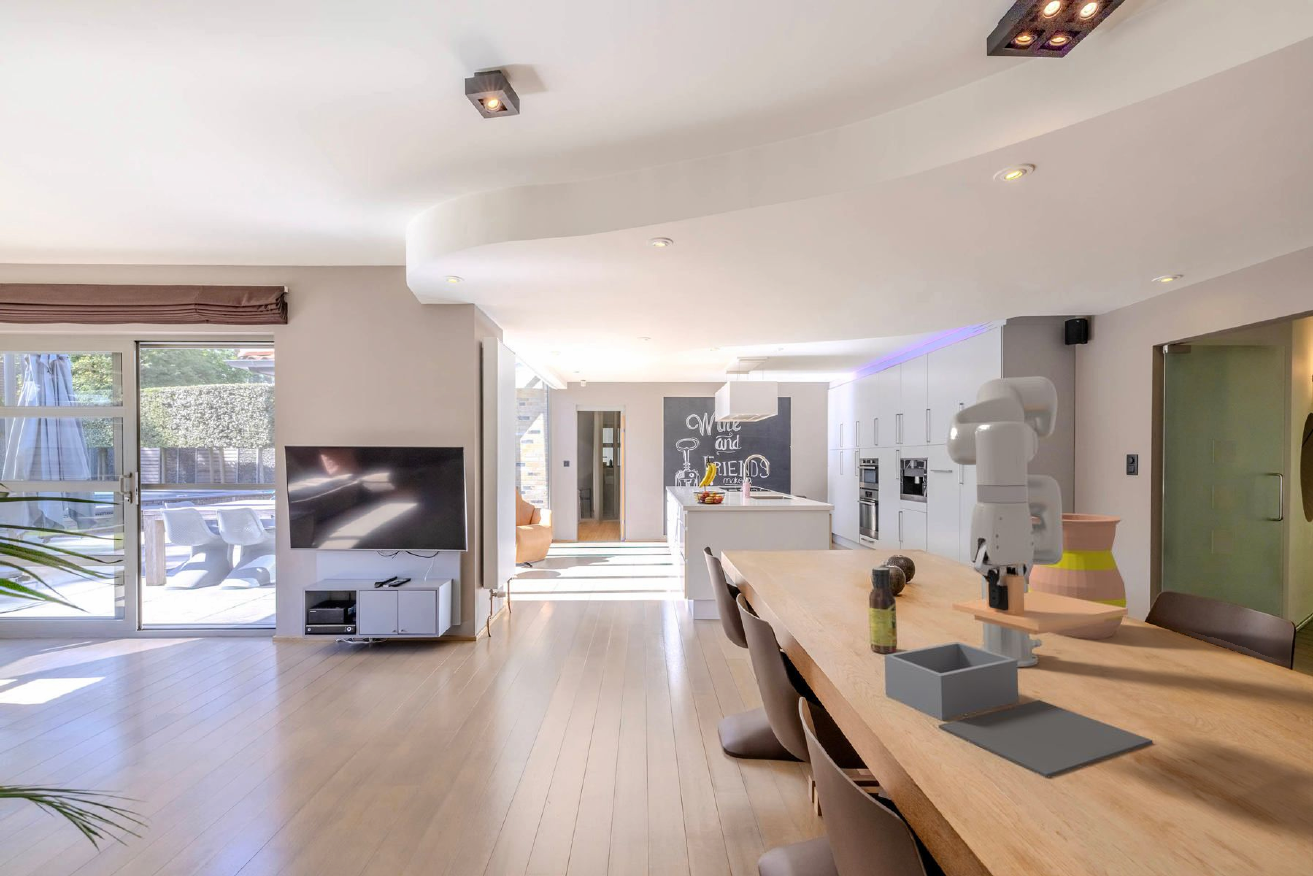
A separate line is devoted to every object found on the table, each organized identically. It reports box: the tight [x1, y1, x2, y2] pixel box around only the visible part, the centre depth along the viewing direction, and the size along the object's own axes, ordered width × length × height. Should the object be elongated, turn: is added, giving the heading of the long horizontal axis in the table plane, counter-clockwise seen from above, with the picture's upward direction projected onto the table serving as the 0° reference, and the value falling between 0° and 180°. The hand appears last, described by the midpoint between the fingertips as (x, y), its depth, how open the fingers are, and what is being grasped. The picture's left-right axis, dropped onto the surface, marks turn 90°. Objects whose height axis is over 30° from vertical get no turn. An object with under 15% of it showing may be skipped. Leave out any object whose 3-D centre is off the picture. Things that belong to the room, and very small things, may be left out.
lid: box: [952, 572, 1129, 636], centre depth 114 cm, size 22×16×8 cm
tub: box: [884, 641, 1020, 721], centre depth 131 cm, size 20×14×8 cm
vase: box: [1028, 513, 1127, 640], centre depth 177 cm, size 22×22×30 cm
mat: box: [938, 699, 1154, 778], centre depth 113 cm, size 26×20×1 cm
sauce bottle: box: [868, 567, 898, 654], centre depth 163 cm, size 7×6×20 cm
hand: (1005, 606), depth 110 cm, fingers closed on lid, 2 cm apart
